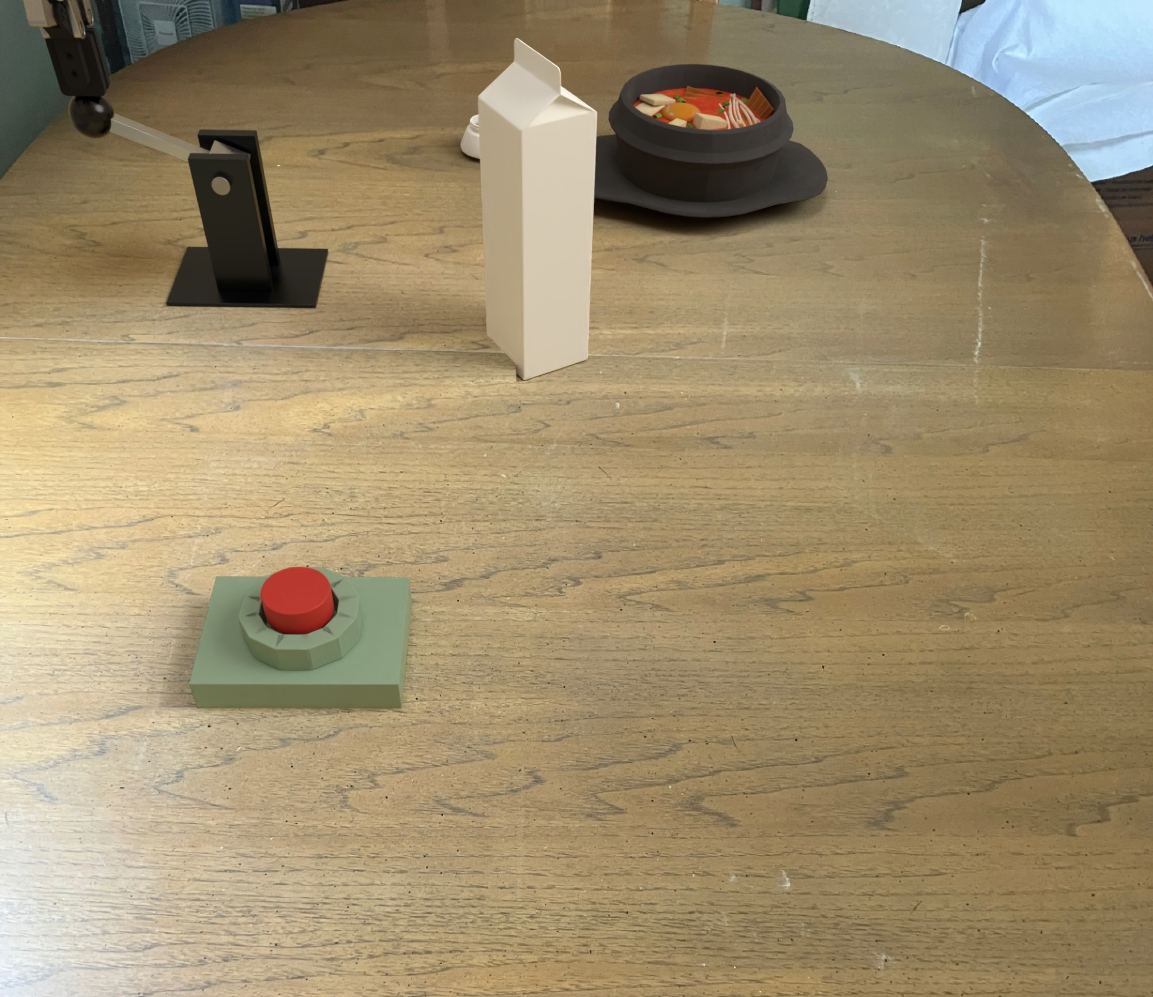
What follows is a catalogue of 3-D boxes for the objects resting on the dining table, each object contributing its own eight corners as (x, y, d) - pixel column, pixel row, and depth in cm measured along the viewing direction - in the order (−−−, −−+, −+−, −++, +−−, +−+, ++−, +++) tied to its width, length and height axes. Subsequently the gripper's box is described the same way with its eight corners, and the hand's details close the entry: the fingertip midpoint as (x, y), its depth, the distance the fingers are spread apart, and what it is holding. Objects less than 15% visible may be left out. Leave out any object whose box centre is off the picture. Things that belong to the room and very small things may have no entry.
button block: (197, 708, 68) (180, 662, 64) (223, 601, 73) (209, 554, 70) (402, 709, 68) (395, 663, 65) (412, 602, 74) (406, 555, 71)
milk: (549, 324, 95) (554, 27, 78) (588, 361, 91) (602, 59, 74) (484, 344, 92) (474, 43, 75) (522, 382, 89) (520, 76, 72)
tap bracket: (169, 316, 94) (129, 170, 85) (190, 259, 99) (155, 116, 90) (317, 318, 94) (294, 172, 85) (329, 261, 100) (309, 119, 91)
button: (260, 635, 66) (255, 614, 65) (270, 587, 69) (265, 565, 68) (330, 635, 67) (326, 614, 65) (337, 587, 69) (334, 566, 68)
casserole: (806, 145, 117) (822, 55, 110) (840, 238, 105) (860, 143, 98) (560, 143, 115) (561, 51, 109) (566, 236, 104) (568, 140, 97)
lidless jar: (516, 160, 113) (506, 138, 116) (516, 129, 110) (505, 107, 114) (466, 164, 112) (457, 141, 115) (464, 133, 110) (455, 110, 113)
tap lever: (61, 135, 85) (65, 93, 83) (72, 116, 87) (76, 75, 85) (238, 203, 90) (246, 165, 87) (244, 184, 92) (253, 146, 89)
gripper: (-30, -258, 75) (61, 49, 89) (-111, -196, 66) (5, 136, 80) (87, -255, 75) (159, 51, 89) (22, -193, 66) (115, 138, 80)
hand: (86, 90), depth 85 cm, fingers closed
